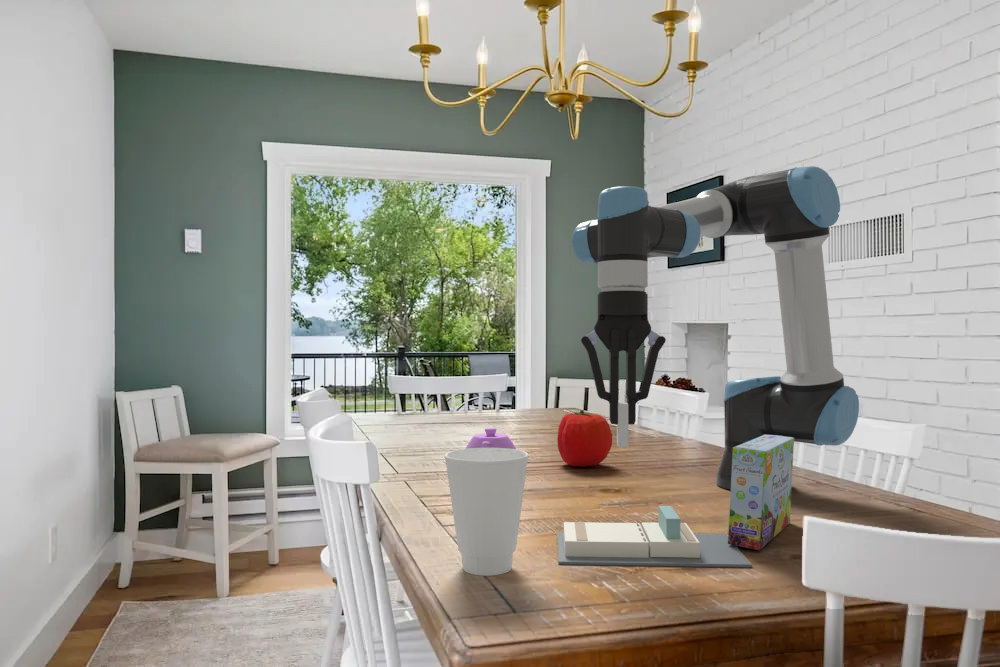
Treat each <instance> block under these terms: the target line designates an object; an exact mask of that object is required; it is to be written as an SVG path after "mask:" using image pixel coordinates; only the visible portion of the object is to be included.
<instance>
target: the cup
mask: <svg viewBox="0 0 1000 667" xmlns="http://www.w3.org/2000/svg"><path fill="white" fill-rule="evenodd" d="M529 456H530V455H529V453H528V452H526V451H524V450H520V449H517V448H516V449H507V448H469V449H466V448H462V449H454V450H451V451H448V452H446V453H445V455H444V460H445V464H446V465H445V466H446V472H447V473H446V474H447V480H448V485H449V486H448V487H449V493H450V501H451V508H452V515H453V521H454V522H453V523H454V528H455V535H456V543H457V550H458V551H459V553H460V555H461V556H460V557H461V564H462V570H463V572H465V573H467V574H470V575H475V576H483V577H484V576H485V577H486V576H498V575H503V574H506V573H508V572H510V571H511V570H512V568H513V557H514V553H515V552H516V549H517V544H518V535H519V527H520V520H521V513H522V508H523V507H522V506H523V498H524V491H525V483H526V478H527V477H526V474H527V467H528V461H529V458H530V457H529Z"/></svg>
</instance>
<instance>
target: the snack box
mask: <svg viewBox="0 0 1000 667" xmlns="http://www.w3.org/2000/svg"><path fill="white" fill-rule="evenodd" d="M794 447H795V442H794V438H793V437H785V436H778V435H763V436H760V437H758V438H755V439H753V440H751V441H748V442H746V443H743V444H741V445H738V446H736V447H733V455H732V476H731V490H730V495H729V496H730V497H729V498H730V499H729V500H730V501H729V513H728V514H729V517H728V518H729V519H728V532H727V534H728V535H727V536H728V544H731V545H735V546H736V547H741V548H746V549H750V550H755V551H756V550H757V551H761V550H762V549H763V548H764V547H765V546H767V544H768V543H770V542H771V541H772V540H773V539H774V538H775V537H776V536H777V535H778V534H779V533H781V532H782V531H783V530H784V529H785V528H786V527H787V526H788V525H789V524H790V523H791V507H792V506H791V504H792V485H793V484H792V483H793V466H794V449H795V448H794Z"/></svg>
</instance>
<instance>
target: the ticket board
mask: <svg viewBox="0 0 1000 667" xmlns="http://www.w3.org/2000/svg"><path fill="white" fill-rule="evenodd" d="M556 532H557V533H556V534H557V535H556V536H557V560H558V563H557V564H558V565H571V566H572V565H573V566H574V565H575V566H576V565H579V566H581V565H582V566H634V567H635V566H636V567H637V566H640V567H641V566H642V567H643V566H645V567H647V566H649V567H695V568H696V567H700V568H703V567H704V568H706V567H707V568H708V567H709V568H716V567H717V568H752V567H753V564H752V563H751V562H750V561H749V559H748V558H747V557H746V556H745V555H744V553H743V552H742V551H741V550H740V549H739V547H738V546H735V545H731V544H728V535H727V534H726V533H701V532H700V533H694V532H693V534H694V535H695V536H696V538H697V539H698V541H699V542H700V558H684V557H650V554H649V548H648V540H647V538H646V536H645V534H644V532H643V530H642V527H641V523H639V522H593V521H592V522H590V521H589V522H586V521H585V522H583V521H582V522H581V521H580V522H579V521H576V522H575V521H574V522H573V521H572V522H571V521H570V522H569V521H568V522H567V521H563V531H556Z"/></svg>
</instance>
